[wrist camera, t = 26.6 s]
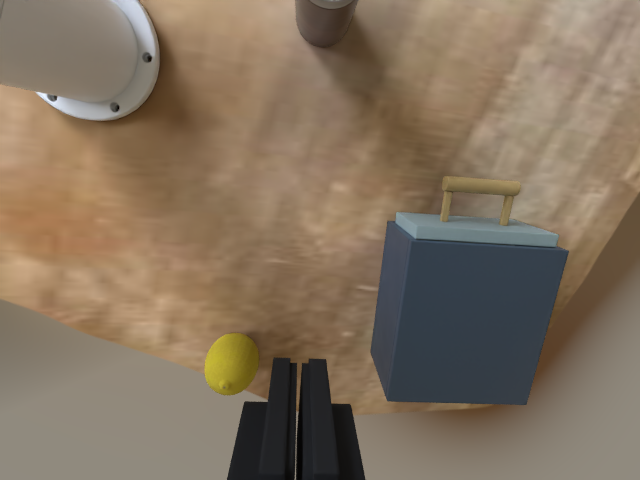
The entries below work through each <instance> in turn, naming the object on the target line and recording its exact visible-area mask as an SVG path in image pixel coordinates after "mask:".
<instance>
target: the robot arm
mask: <svg viewBox="0 0 640 480" xmlns="http://www.w3.org/2000/svg"><path fill="white" fill-rule="evenodd" d="M150 57H152V60H151V62H149V58H150ZM159 67H160V50H159V44H158V38H157V35H156V32H155V29H154V26H153V23H152V21H151V19H150V18H149V16H148V14H147V12H146V10H145V9H144V7H143V6H142V5H141V3H140V2H139V1H138V0H0V84H2V85H6V86H11V87H16V88H21V89H26V90H30V91H35V92H36V93H37V94H38V95H39V96H40V97H41V98H42V99H44V100H45V101H46V102H47V103H49V104H50V105H51V106H53V107H54V108H56V109H58V110H60V111H62V112H63V113H65V114H68V115H71V116H74V117H77V118H81V119H87V120H96V121H106V120H115V119H118V118H121V117H124V116H126V115H128V114H130V113H131V112H133V111H135V110H136V109H138V108H139V107H140V106H141V105H142V104H143V103H144V102H145V101H146V100H147V98H148V96H149V95H150V93H151V92H152V90H153V88H154V86H155V83H156V81H157V78H158V72H159ZM57 97H58V98H57ZM118 106H119V107H120V109H119V111H118V109H117V107H118ZM296 388H297V363H290V358H273V366H272V374H271V381H270V389H269V397H268V402H244V406H243V410H242V414H241V419H240V424H239V428H238V432H237V437H236V441H235V446H234V451H233V455H232V459H231V464H230V468H229V473H228V477H227V480H294V478H295V444H296V441H295V440H296ZM296 459H297V460H296V462H297V463H296V480H365V476H364V470H363V465H362V459H361V454H360V450H359V444H358V439H357V434H356V429H355V423H354V418H353V413H352V408H351V405H350V404H331V397H330V388H329V380H328V371H327V363H326V359H309V363H302V372H301V386H300V400H299V414H298V428H297V456H296Z"/></svg>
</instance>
